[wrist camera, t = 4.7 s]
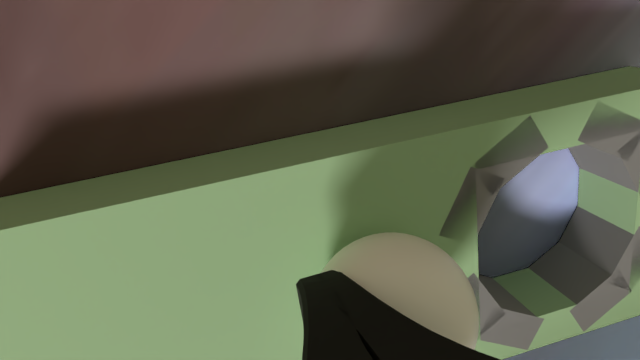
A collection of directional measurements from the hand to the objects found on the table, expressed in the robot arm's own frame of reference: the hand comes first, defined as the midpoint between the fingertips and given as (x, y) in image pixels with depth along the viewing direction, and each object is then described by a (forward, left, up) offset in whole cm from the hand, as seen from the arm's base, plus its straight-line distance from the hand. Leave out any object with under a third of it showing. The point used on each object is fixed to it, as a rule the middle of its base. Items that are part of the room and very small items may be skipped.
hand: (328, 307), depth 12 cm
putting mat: (-1, -2, -4) cm, 5 cm away
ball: (-1, -1, 0) cm, 2 cm away
